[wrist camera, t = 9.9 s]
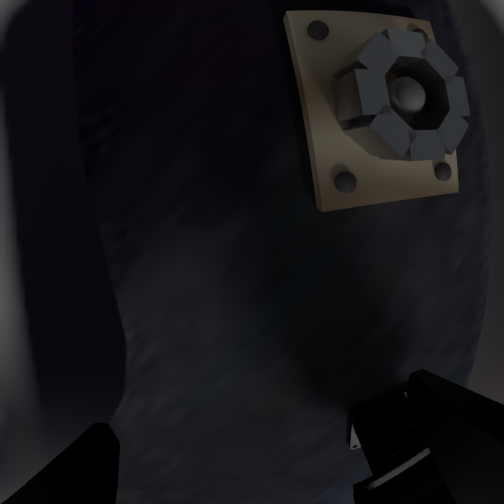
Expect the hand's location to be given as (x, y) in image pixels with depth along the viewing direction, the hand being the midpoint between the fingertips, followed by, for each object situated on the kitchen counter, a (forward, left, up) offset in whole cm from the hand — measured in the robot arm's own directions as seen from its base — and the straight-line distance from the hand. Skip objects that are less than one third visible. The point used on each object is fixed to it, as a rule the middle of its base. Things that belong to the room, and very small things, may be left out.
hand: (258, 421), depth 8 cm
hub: (+9, -10, -11) cm, 17 cm away
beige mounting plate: (+9, -10, -12) cm, 18 cm away
